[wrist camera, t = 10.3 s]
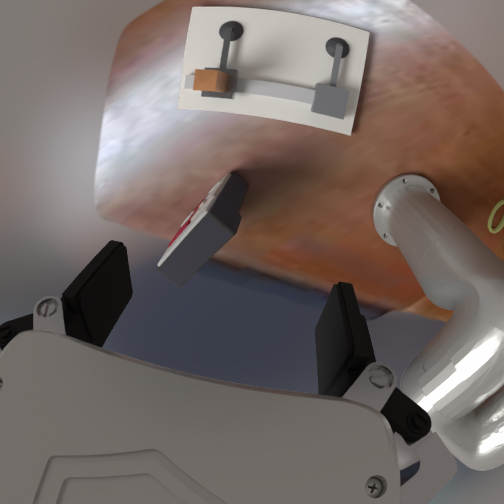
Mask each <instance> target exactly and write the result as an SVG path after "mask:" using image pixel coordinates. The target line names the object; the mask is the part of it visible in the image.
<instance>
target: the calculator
mask: <svg viewBox="0 0 504 504" xmlns="http://www.w3.org/2000/svg"><path fill="white" fill-rule="evenodd" d="M247 188H248V183H246V182H245V181H244V180H243V179H242V178H241V177H240V176H239V175H238V174H236V173H235V172H233V173H232V174H230V173H229V172H228V173H227V174H226V175H225V176H224V178H223V179H222V180H221V181H219V182H218V183H217V184H216V185H215V186H214V187H213V188H212V189H211V191H210V192H209V194H208V195H207V196H206V197H205V198H204V199H203V201H202V202H201V203H200V204H199V205H198V206H197V207H196V208H195V210H193V212H192V213H191V214H190V215H189V216H188V217H187V218H186V220H185V221H184V223H183V224H182V225H181V228H180V229H179V231H178V232H177V233H176V235H175V236H174V238H173V239H172V241H171V242H170V244H169V245H168V247H169V248H168V249H167V251H166V253H165V254H164V255H163V257H162V258H161V260H160V261H159V263H158V266H159V267H158V269H157V271H158V272H159V273H160V274H162V275H163V276H164V277H165V278H167V279H168V280H169V281H171V282H172V283H173V284H174V285H176V286H177V287H181V286H182V285H183V284H184V283H185V282H186V281H187V280H188V279H189V278H190V277H191V276H192V275H193V274H194V273H195V272H196V271H197V270H198V269H200V268H201V267H202V266H203V265H204V264H205V263H206V262H207V261H208V260H209V259H210V258H211V257H212V256H213V255H214V254H215V253H216V252H217V251H218V250H219V249H220V248H221V247H222V246H223V245H225V244H226V243H227V242H228V241H229V240H230V239H231V238H232V237H233V236H234V235H235V234H236V232H237V229H238V226H239V223H240V220H241V216H240V214H239V209H240V206H241V203H242V201H243V198H244V195H245V193H246V190H247Z"/></svg>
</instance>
